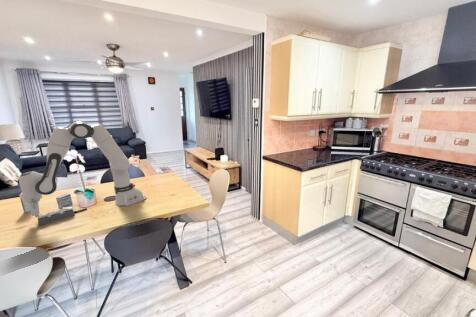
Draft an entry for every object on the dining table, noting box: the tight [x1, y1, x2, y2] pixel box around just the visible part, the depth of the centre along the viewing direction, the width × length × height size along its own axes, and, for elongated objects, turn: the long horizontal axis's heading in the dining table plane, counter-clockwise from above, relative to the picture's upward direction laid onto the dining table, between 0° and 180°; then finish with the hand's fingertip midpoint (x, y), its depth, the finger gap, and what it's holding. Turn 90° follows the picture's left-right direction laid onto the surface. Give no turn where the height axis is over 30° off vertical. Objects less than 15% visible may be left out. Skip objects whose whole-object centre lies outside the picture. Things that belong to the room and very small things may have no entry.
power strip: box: [37, 205, 88, 226], centre depth 156 cm, size 27×8×4 cm, turn 132°
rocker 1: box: [37, 211, 49, 220], centre depth 148 cm, size 5×4×2 cm
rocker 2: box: [49, 208, 61, 216], centre depth 152 cm, size 5×4×2 cm
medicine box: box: [55, 193, 74, 209], centre depth 170 cm, size 8×4×9 cm, turn 160°
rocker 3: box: [63, 206, 74, 211], centre depth 156 cm, size 5×4×2 cm
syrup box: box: [18, 192, 31, 213], centre depth 164 cm, size 6×6×14 cm
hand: (37, 216), depth 146 cm, fingers closed, pressing on rocker 1
